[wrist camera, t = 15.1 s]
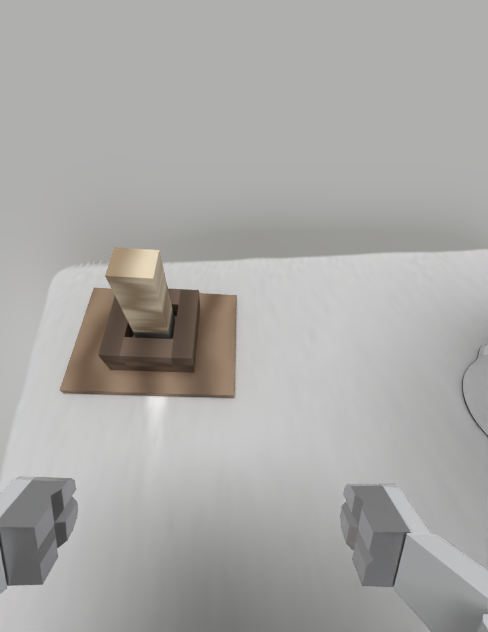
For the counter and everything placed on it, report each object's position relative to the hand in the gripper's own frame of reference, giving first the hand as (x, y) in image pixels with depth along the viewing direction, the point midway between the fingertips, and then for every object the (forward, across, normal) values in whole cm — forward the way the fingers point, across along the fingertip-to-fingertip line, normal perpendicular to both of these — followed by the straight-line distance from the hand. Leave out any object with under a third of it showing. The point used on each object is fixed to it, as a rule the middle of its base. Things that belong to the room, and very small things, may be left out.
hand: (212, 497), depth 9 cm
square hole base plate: (+34, +10, +7) cm, 36 cm away
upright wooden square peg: (+32, +10, +5) cm, 34 cm away
